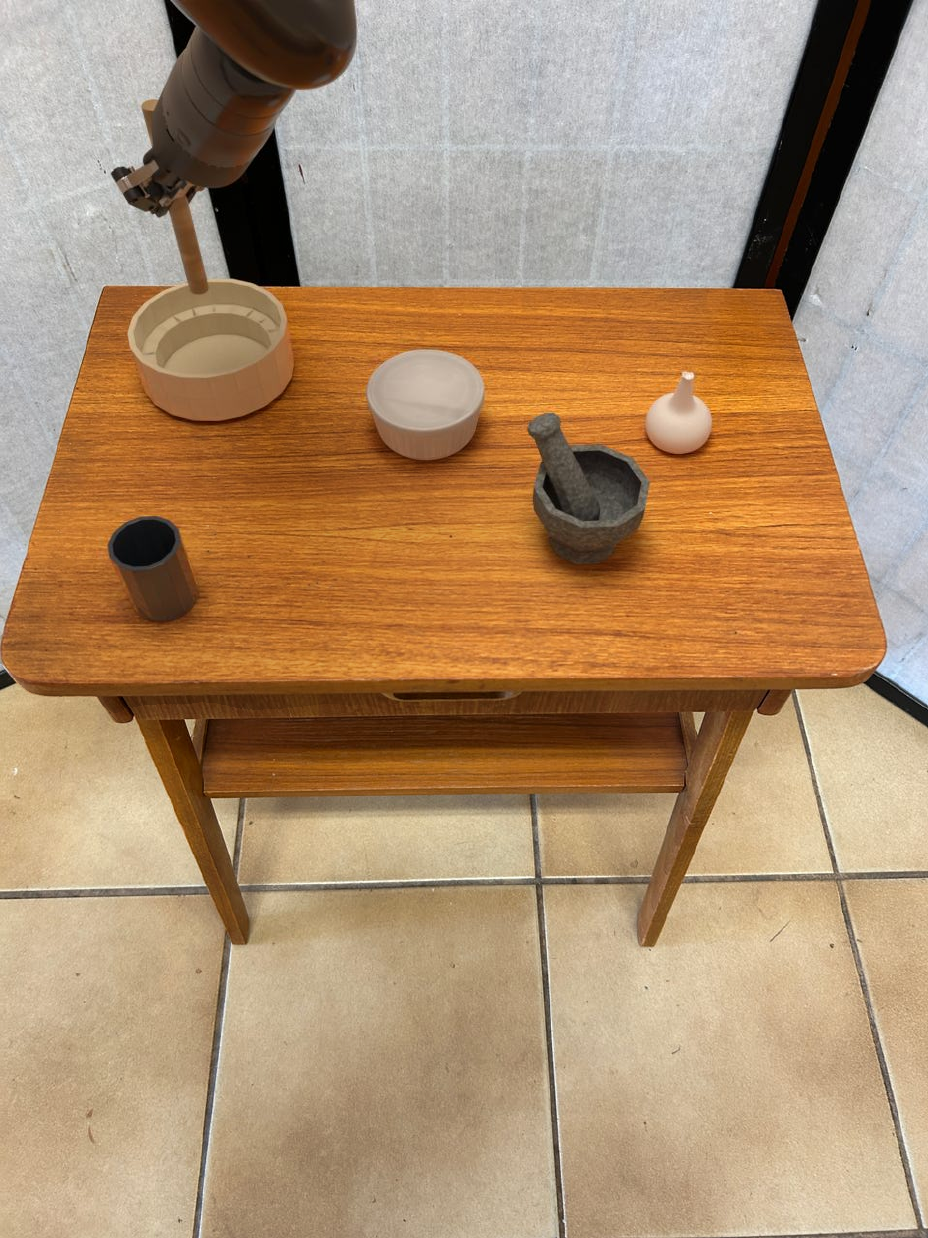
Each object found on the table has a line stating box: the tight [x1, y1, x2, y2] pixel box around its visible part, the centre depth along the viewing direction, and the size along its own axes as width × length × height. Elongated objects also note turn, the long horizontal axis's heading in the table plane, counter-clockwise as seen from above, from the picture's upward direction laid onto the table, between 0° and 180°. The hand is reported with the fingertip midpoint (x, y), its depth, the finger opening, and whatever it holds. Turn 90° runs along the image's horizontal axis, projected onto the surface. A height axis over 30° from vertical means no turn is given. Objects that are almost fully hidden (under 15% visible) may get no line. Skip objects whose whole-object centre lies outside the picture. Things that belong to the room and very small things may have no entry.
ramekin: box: [365, 349, 486, 461], centre depth 91 cm, size 11×11×5 cm
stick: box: [140, 98, 209, 295], centre depth 82 cm, size 2×2×17 cm
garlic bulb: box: [644, 371, 713, 455], centre depth 90 cm, size 6×6×8 cm
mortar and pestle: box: [526, 412, 651, 565], centre depth 81 cm, size 11×9×12 cm
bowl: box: [126, 278, 295, 422], centre depth 95 cm, size 15×15×6 cm
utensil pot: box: [107, 515, 200, 623], centre depth 78 cm, size 6×6×7 cm
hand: (166, 200), depth 84 cm, fingers closed on stick, 2 cm apart
